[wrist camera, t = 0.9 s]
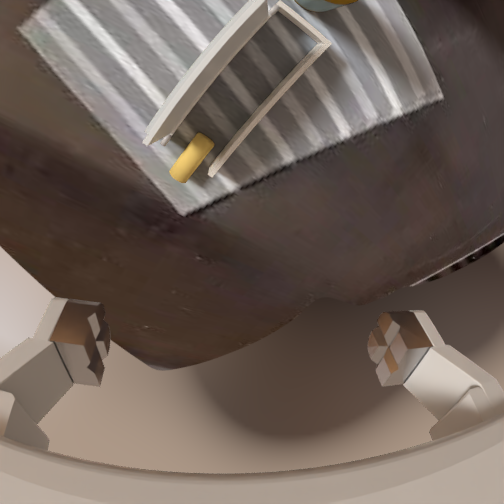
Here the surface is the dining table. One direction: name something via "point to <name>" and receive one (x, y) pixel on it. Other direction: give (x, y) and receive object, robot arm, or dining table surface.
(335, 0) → the bottle
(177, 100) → the cover
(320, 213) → the dining table surface
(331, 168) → the dining table surface
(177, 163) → the yellow cylinder
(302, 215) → the dining table surface
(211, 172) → the white long shallow tray
